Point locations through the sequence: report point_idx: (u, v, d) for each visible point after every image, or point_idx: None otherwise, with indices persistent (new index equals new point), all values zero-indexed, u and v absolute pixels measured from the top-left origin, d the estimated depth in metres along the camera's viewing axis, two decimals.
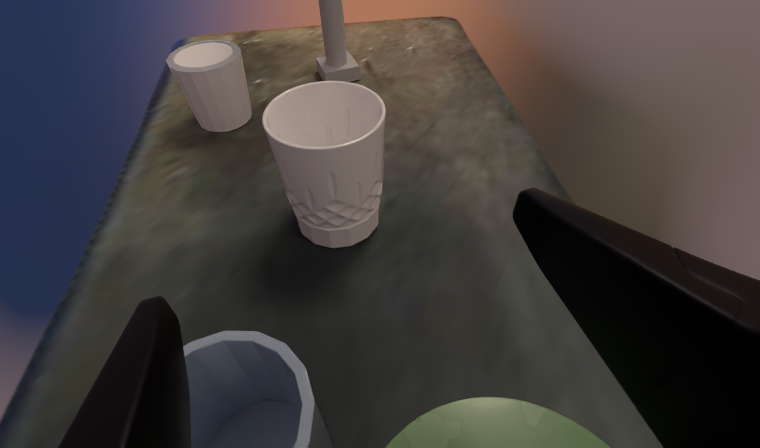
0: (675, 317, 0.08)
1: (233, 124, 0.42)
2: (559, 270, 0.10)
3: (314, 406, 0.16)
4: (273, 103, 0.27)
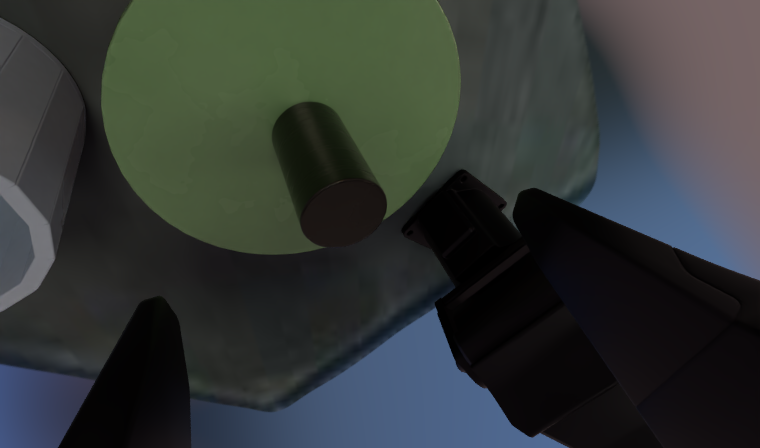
0: (675, 317, 0.08)
1: None
2: (559, 270, 0.10)
3: None
4: None
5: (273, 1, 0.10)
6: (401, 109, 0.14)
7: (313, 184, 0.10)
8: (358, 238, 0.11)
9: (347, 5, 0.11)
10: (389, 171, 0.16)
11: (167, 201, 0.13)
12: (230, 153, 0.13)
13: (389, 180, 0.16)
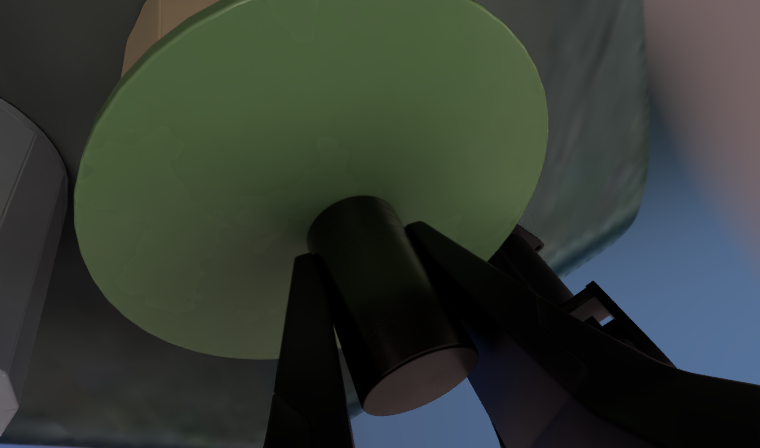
0: (529, 379, 0.07)
1: None
2: None
3: None
4: None
5: (321, 81, 0.07)
6: (470, 193, 0.11)
7: (383, 352, 0.07)
8: (433, 398, 0.08)
9: (420, 79, 0.08)
10: None
11: (168, 321, 0.10)
12: (252, 262, 0.10)
13: None
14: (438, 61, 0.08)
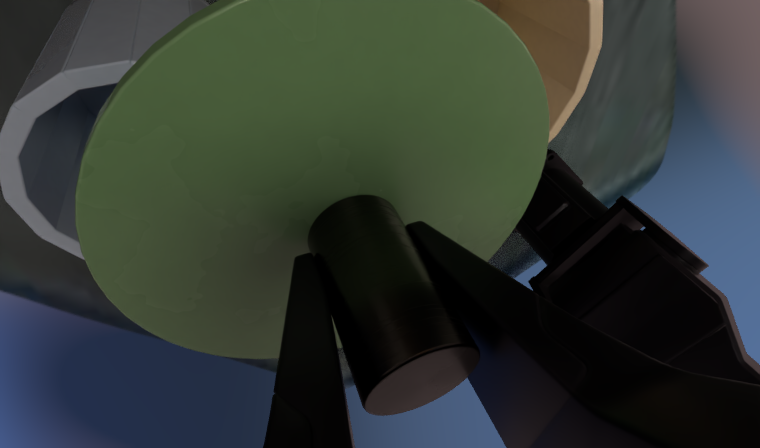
0: (530, 379, 0.07)
1: None
2: None
3: None
4: None
5: (322, 79, 0.07)
6: (471, 192, 0.11)
7: (385, 352, 0.07)
8: (434, 398, 0.08)
9: (421, 78, 0.08)
10: None
11: (169, 320, 0.10)
12: (253, 261, 0.10)
13: None
14: (440, 60, 0.08)
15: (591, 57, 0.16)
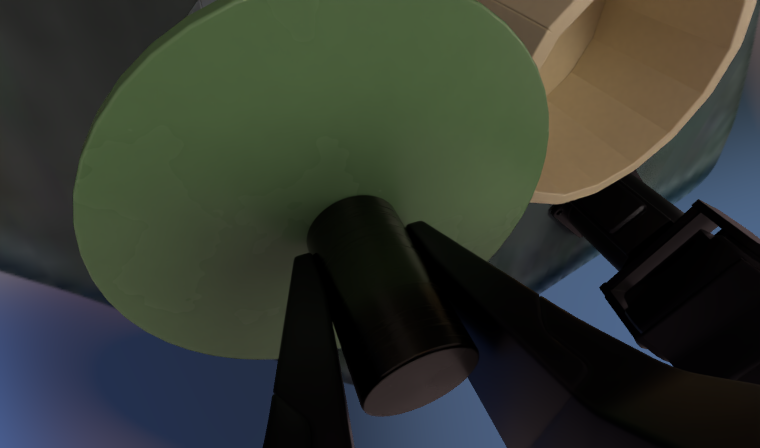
0: (529, 379, 0.07)
1: None
2: None
3: None
4: None
5: (321, 80, 0.07)
6: (470, 192, 0.11)
7: (384, 352, 0.07)
8: (433, 399, 0.08)
9: (420, 78, 0.08)
10: None
11: (168, 321, 0.10)
12: (251, 262, 0.10)
13: None
14: (439, 60, 0.08)
15: (728, 57, 0.16)
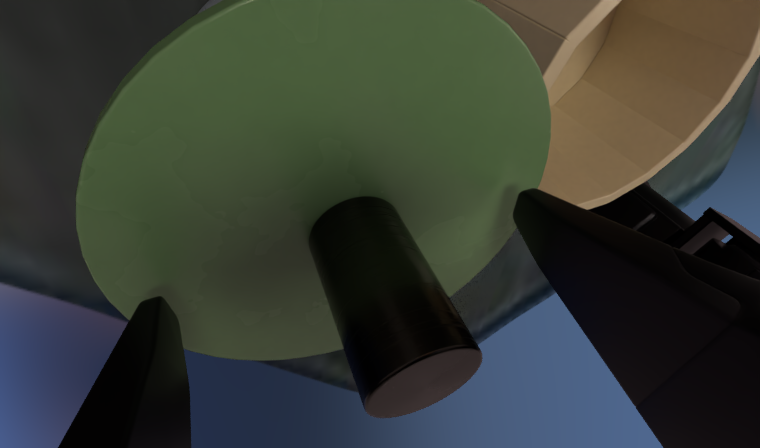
0: (676, 317, 0.08)
1: None
2: (559, 270, 0.10)
3: None
4: None
5: (324, 81, 0.07)
6: (472, 193, 0.11)
7: (387, 354, 0.07)
8: (436, 400, 0.08)
9: (423, 79, 0.08)
10: (447, 259, 0.13)
11: None
12: (254, 263, 0.10)
13: (446, 268, 0.13)
14: (441, 61, 0.08)
15: (747, 65, 0.15)
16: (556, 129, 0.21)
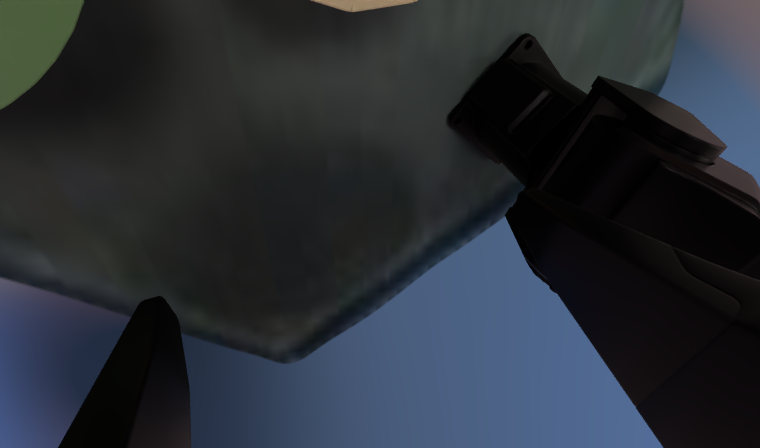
0: (675, 317, 0.08)
1: None
2: (559, 270, 0.10)
3: None
4: None
5: None
6: None
7: None
8: None
9: None
10: None
11: None
12: None
13: None
14: None
15: None
16: None
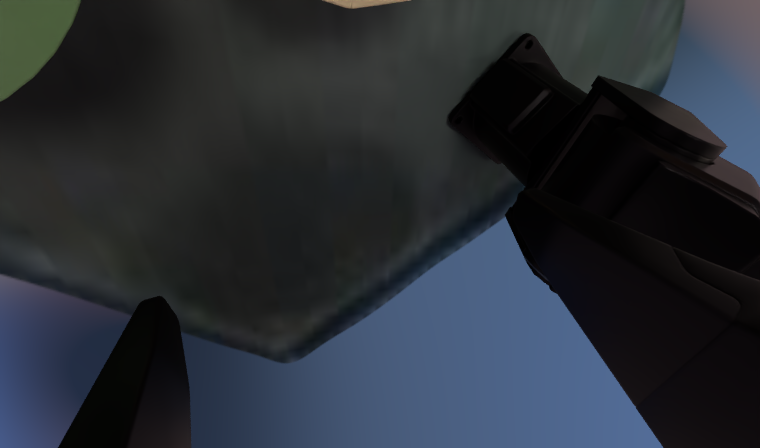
0: (675, 317, 0.08)
1: None
2: (559, 270, 0.10)
3: None
4: None
5: None
6: None
7: None
8: None
9: None
10: None
11: None
12: None
13: None
14: None
15: None
16: None
